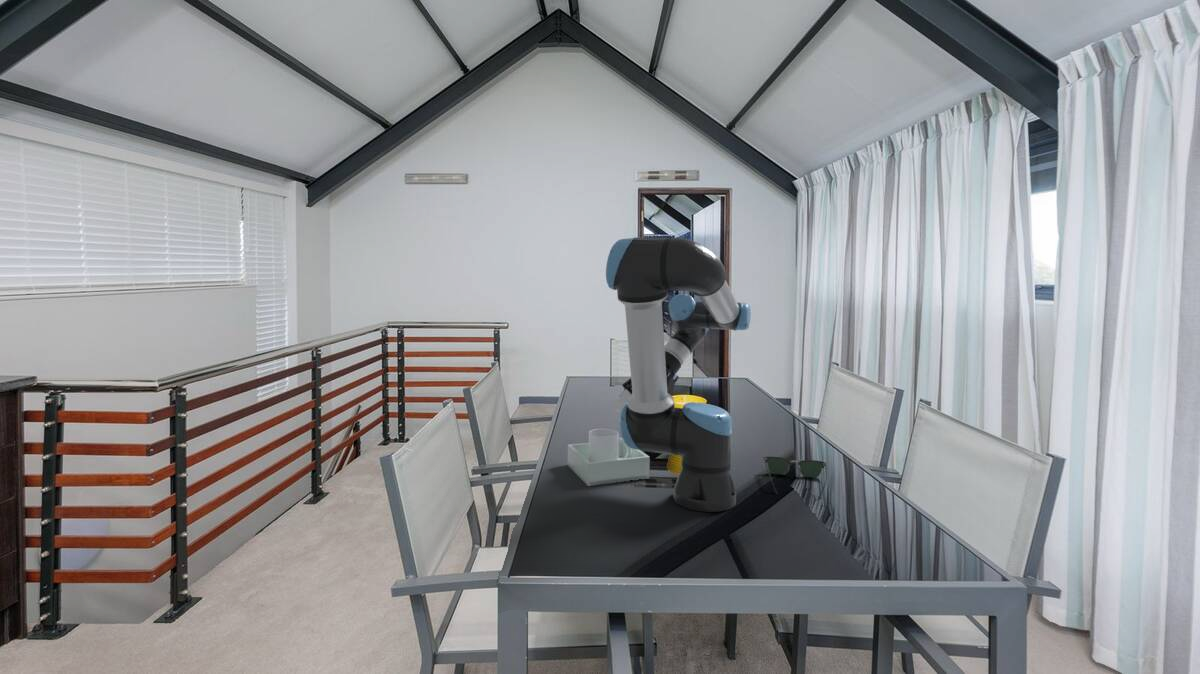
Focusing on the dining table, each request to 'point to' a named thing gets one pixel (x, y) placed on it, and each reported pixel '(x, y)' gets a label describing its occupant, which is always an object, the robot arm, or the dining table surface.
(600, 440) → the mug
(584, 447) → the bin
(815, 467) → the sunglasses
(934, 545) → the dining table surface
